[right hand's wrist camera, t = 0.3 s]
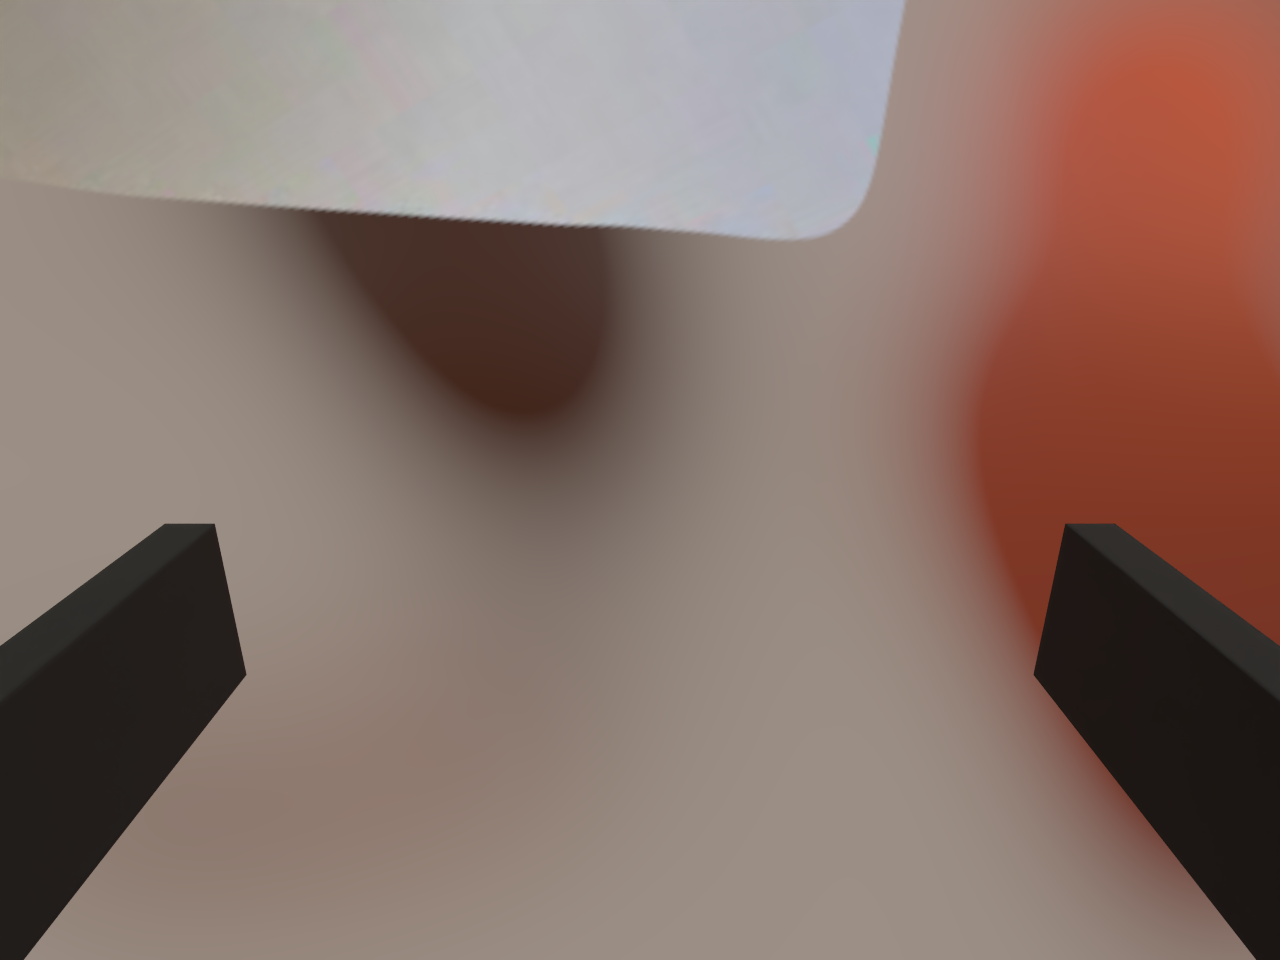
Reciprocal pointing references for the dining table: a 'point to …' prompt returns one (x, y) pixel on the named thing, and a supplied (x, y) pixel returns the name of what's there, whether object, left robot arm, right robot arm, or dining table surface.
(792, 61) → the dining table surface
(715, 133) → the dining table surface
